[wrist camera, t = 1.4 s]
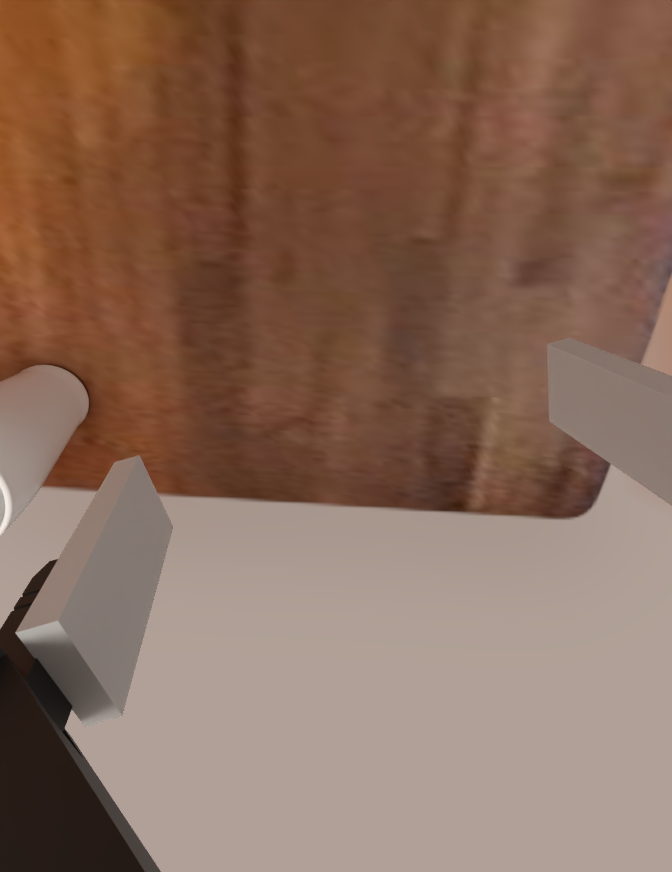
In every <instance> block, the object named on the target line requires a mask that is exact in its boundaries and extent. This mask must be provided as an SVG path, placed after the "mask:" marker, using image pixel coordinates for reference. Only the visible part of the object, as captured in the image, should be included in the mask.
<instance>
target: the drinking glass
mask: <svg viewBox="0 0 672 872" xmlns="http://www.w3.org/2000/svg"><path fill="white" fill-rule="evenodd" d="M88 409H89V398H88V394H87V391H86V389H85V387H84V386H83V384H82V383H81V382H80V380H79V379H78V378H77V377H76V376H74V375H73V374H72V373H70V372H69V371H67V370H65V369H63V368H60V367H57V366H53V365H35V366H31V367H28V368H26V369H24V370H22V371H20V372H19V373H17V374H15V375H13V376H11V377H9V378H6V379H4V380H2V381H0V536H1V534H2V533H3V532H4V531H5V530H6V529H7V528H8V527H9V526H10V525H11V524H12V523H13V522H14V521H15V520H16V519H17V518H18V516H19V515H20V514H21V513H22V512H23V510H24V509H25V508H26V507H27V506H28V504H29V503H30V502H31V501H32V499H33V498H34V497H35V495H36V494H37V493H38V491H39V490H40V488H41V487H42V485H43V484H44V482H45V480H46V479H47V477H48V475H49V474H50V472H51V470H52V469H53V467H54V465H55V464H56V462H57V460H58V459H59V457H60V455H61V454H62V452H63V450H64V449H65V447H66V445H67V444H68V442H69V440H70V439H71V437H72V435H73V434H74V432H75V431H76V429H77V428H78V427H79V426H80V424H81V423H82V422H83V421H84V419H85V417H86V415H87V413H88Z"/></svg>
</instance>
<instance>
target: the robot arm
mask: <svg viewBox="0 0 672 872" xmlns="http://www.w3.org/2000/svg"><path fill="white" fill-rule="evenodd" d="M547 362H548V393H549V421H550V422H551V423H553V424H554V425H555V426H557V427H558V428H560V429H561V430H563V431H564V432H566V433H567V434H568V435H570V436H571V437H573V438H574V439H576V440H577V441H579V442H580V443H582V444H583V445H584V446H586V447H587V448H589V449H590V450H592V451H593V452H595V453H596V454H598V455H599V456H600V457H602V458H603V459H605V460H606V461H608V462H609V463H611V464H612V465H614V466H615V467H616V468H618V469H619V470H621V471H622V472H624V473H625V474H627V475H628V476H630V477H631V478H633V479H634V480H635V481H637V482H638V483H640V484H641V485H643V486H644V487H646V488H647V489H648V490H650V491H651V492H653V493H654V494H656V495H657V496H659V497H660V498H662V499H663V500H665V501H666V502H667V503H669V504H670V505H672V376H670V375H668V374H665V373H662V372H660V371H657V370H654V369H652V368H649V367H646V366H644V365H641V364H638V363H636V362H633V361H630V360H628V359H625V358H622V357H620V356H617V355H614V354H612V353H609V352H606V351H604V350H601V349H598V348H596V347H593V346H591V345H588V344H585V343H583V342H580V341H577V340H575V339H572V338H567V339H563V340H560V341H556V342H552V343H549V344H547ZM172 529H173V526H172V523H171V521H170V519H169V517H168V515H167V513H166V511H165V509H164V507H163V504H162V502H161V500H160V498H159V496H158V494H157V492H156V489H155V487H154V485H153V483H152V481H151V479H150V477H149V475H148V472H147V470H146V468H145V466H144V464H143V462H142V460H141V458H140V455H139V456H135V457H131V458H128V459H124V460H120V461H117V462H115V463H114V464H113V466H112V468H111V469H110V471H109V473H108V475H107V476H106V478H105V480H104V481H103V483H102V485H101V487H100V488H99V490H98V492H97V493H96V495H95V497H94V499H93V500H92V502H91V504H90V505H89V507H88V509H87V511H86V512H85V514H84V516H83V518H82V519H81V521H80V523H79V524H78V526H77V528H76V530H75V531H74V533H73V535H72V536H71V538H70V540H69V541H68V543H67V545H66V547H65V549H64V550H63V552H62V554H61V555H60V557H59V559H57V560H53V561H50V562H49V563H48V564H46V565H45V566H44V567H43V568H42V569H41V570H40V571H39V572H38V573H37V574H36V575H35V576H34V577H33V578H32V579H31V581H30V583H29V584H28V586H27V588H26V589H25V591H24V593H23V597H20V599H19V600H18V602H17V604H16V605H15V607H14V611H12V612H11V613H10V615H9V616H8V618H7V620H6V621H5V623H4V624H3V626H2V628H1V629H0V872H160V870H159V868H158V867H157V865H156V864H155V862H154V861H153V859H152V858H151V856H150V855H149V853H148V852H147V850H146V849H145V847H144V846H143V844H142V843H141V841H140V840H139V838H138V837H137V835H136V834H135V832H134V831H133V829H132V828H131V826H130V825H129V823H128V822H127V820H126V819H125V817H124V816H123V814H122V813H121V811H120V810H119V808H118V807H117V805H116V804H115V802H114V801H113V799H112V798H111V796H110V795H109V793H108V792H107V790H106V789H105V787H104V786H103V784H102V783H101V781H100V780H99V778H98V776H97V775H96V773H95V772H94V771H93V769H92V767H91V766H90V765H89V763H88V761H87V760H86V759H85V757H84V756H83V754H82V752H81V751H80V749H79V748H78V746H77V745H76V744H75V742H74V741H73V739H72V737H71V736H70V735H69V734H68V732H67V731H66V730H65V725H66V723H67V720H68V717H69V715H70V712H71V709H72V710H73V711H74V712H75V714H76V715H77V716H78V718H79V719H80V720H81V722H82V723H83V725H84V726H85V727H86V726H89V725H93V724H96V723H100V722H103V721H106V720H109V719H113V718H116V717H120V716H122V714H123V711H124V707H125V703H126V700H127V696H128V692H129V688H130V685H131V681H132V677H133V674H134V670H135V666H136V662H137V659H138V655H139V651H140V648H141V644H142V640H143V637H144V633H145V629H146V625H147V622H148V618H149V614H150V610H151V607H152V603H153V600H154V596H155V592H156V588H157V584H158V581H159V577H160V574H161V570H162V566H163V562H164V559H165V555H166V551H167V547H168V544H169V540H170V536H171V533H172Z"/></svg>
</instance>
